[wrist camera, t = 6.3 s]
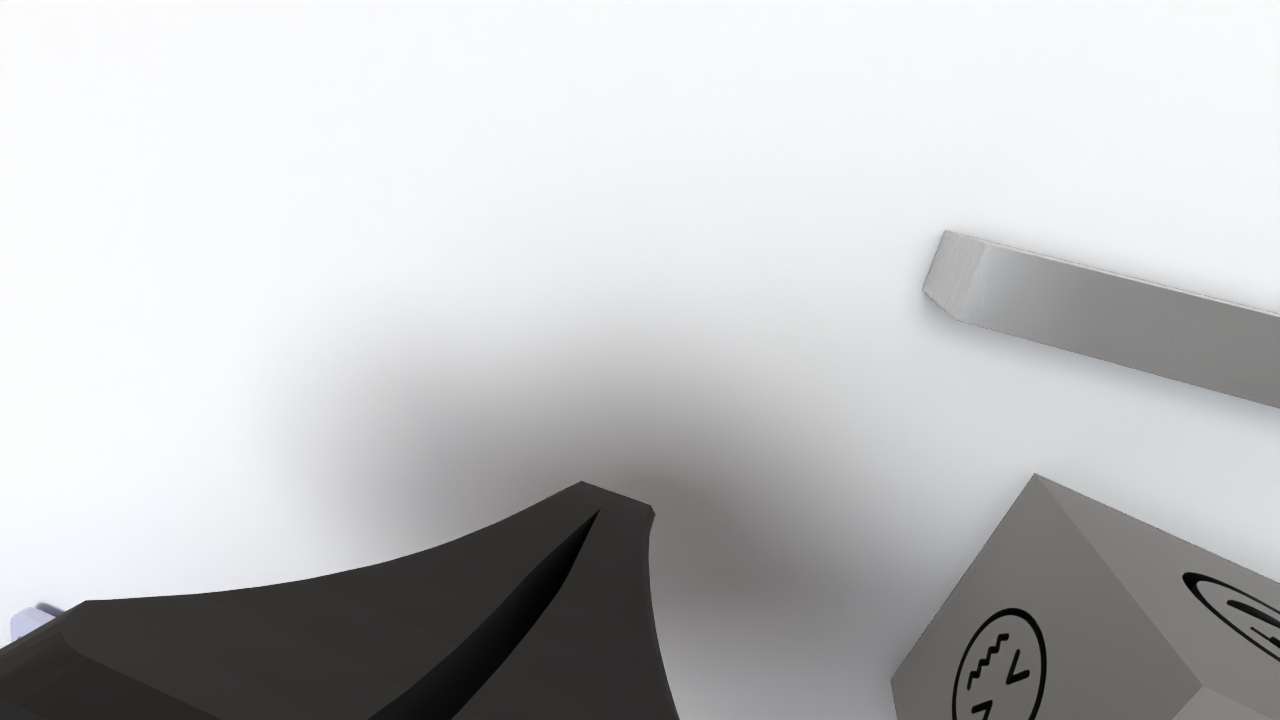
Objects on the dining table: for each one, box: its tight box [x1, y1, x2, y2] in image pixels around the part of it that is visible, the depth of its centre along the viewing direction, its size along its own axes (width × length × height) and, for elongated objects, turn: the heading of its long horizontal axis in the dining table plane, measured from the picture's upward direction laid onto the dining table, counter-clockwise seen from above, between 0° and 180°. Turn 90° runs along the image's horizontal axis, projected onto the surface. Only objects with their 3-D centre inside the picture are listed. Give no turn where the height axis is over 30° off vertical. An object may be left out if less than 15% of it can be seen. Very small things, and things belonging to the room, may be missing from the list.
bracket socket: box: [922, 230, 1280, 408], centre depth 10 cm, size 12×11×3 cm
